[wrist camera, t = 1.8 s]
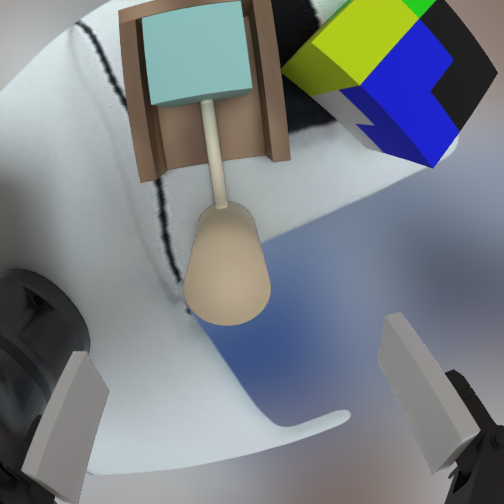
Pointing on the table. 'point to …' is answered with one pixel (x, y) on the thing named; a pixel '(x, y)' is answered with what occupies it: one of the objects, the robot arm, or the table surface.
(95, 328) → the table surface
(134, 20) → the shelf lane
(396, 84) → the puzzle toy
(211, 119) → the toy hammer
